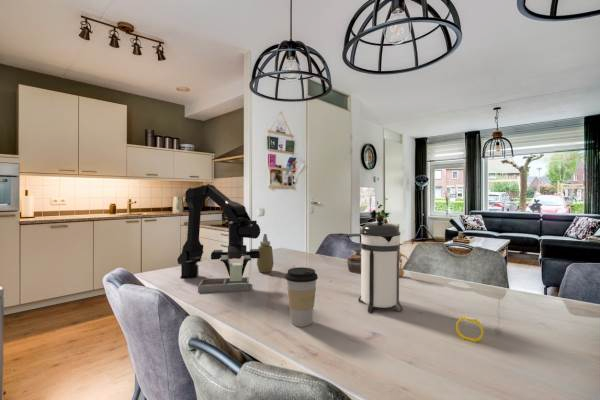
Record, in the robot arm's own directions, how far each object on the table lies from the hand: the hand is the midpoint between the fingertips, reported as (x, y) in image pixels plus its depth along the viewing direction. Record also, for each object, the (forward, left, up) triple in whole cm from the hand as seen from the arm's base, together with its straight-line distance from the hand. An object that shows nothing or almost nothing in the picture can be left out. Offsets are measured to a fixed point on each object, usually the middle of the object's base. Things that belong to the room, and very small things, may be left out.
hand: (236, 275), depth 120 cm
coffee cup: (+21, -36, -5) cm, 42 cm away
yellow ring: (+62, -52, -5) cm, 81 cm away
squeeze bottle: (+12, +23, -5) cm, 26 cm away
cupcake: (+56, +18, -5) cm, 59 cm away
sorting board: (-4, 0, -5) cm, 6 cm away
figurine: (+71, +5, -5) cm, 71 cm away
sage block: (0, 0, -2) cm, 2 cm away
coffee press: (+48, -26, -5) cm, 55 cm away
